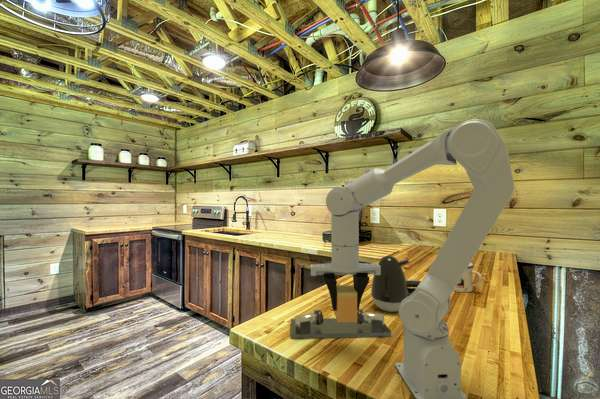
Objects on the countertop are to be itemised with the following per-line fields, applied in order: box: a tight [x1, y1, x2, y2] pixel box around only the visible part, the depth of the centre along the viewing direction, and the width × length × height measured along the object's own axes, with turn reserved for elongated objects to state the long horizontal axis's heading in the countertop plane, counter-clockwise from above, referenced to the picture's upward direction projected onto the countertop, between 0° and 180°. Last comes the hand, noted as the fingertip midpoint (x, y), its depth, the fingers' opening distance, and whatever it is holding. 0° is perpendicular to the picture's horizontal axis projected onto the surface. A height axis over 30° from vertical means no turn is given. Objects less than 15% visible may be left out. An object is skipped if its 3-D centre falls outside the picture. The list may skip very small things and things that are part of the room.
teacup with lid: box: [453, 262, 483, 293], centre depth 96 cm, size 12×9×12 cm
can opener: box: [406, 279, 422, 296], centre depth 91 cm, size 18×7×6 cm, turn 63°
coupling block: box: [333, 284, 358, 322], centre depth 59 cm, size 4×5×6 cm
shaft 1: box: [294, 309, 324, 335], centre depth 65 cm, size 6×3×4 cm, turn 112°
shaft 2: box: [357, 308, 385, 333], centre depth 65 cm, size 6×3×4 cm, turn 72°
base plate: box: [290, 317, 392, 340], centre depth 67 cm, size 8×23×1 cm, turn 92°
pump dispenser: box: [370, 255, 410, 313], centre depth 80 cm, size 10×10×15 cm
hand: (345, 308), depth 59 cm, fingers closed on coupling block, 4 cm apart
